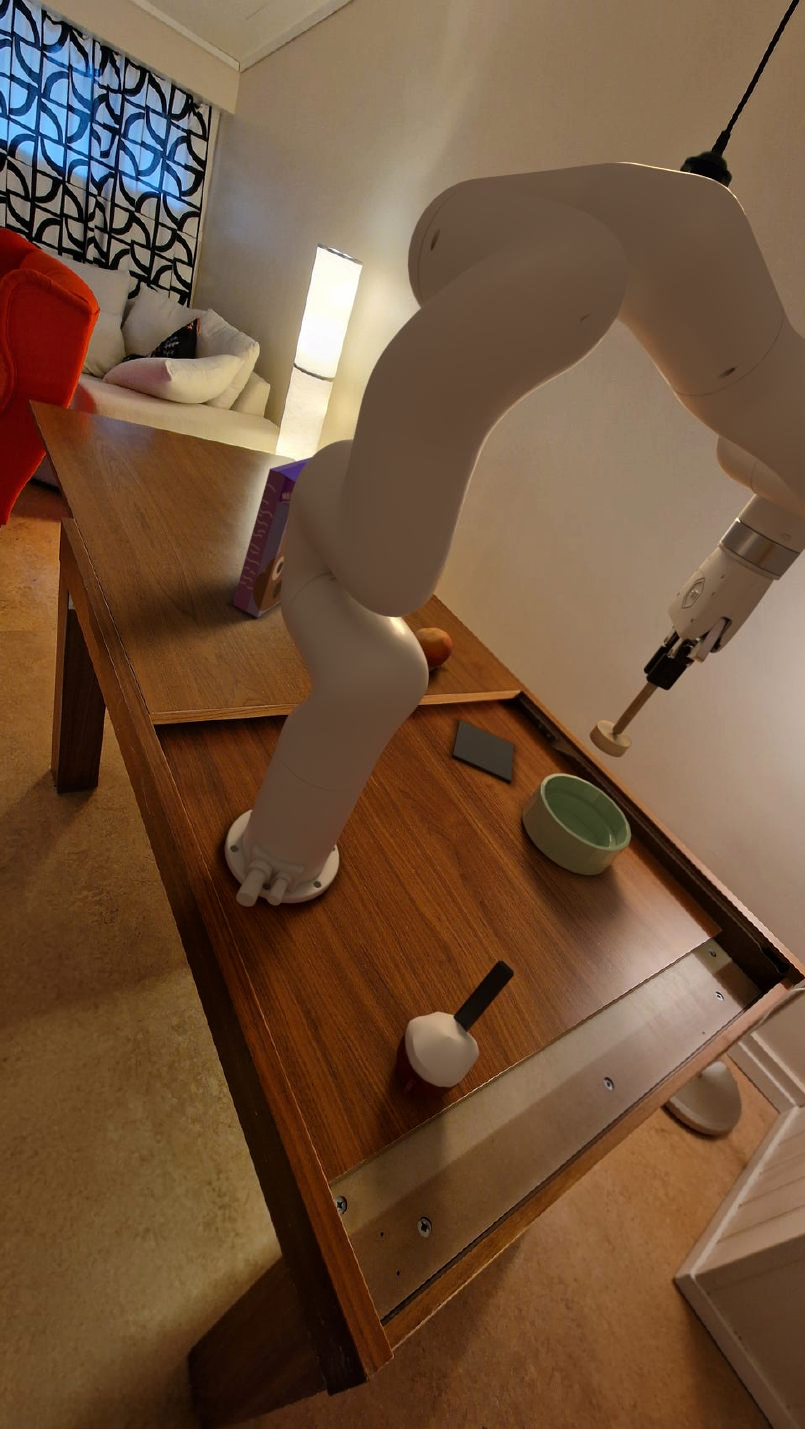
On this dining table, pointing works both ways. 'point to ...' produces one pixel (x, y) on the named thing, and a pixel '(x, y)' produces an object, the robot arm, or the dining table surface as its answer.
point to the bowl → (576, 824)
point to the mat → (484, 751)
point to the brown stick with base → (620, 726)
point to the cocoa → (446, 1041)
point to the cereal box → (268, 543)
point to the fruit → (434, 646)
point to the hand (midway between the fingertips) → (655, 680)
